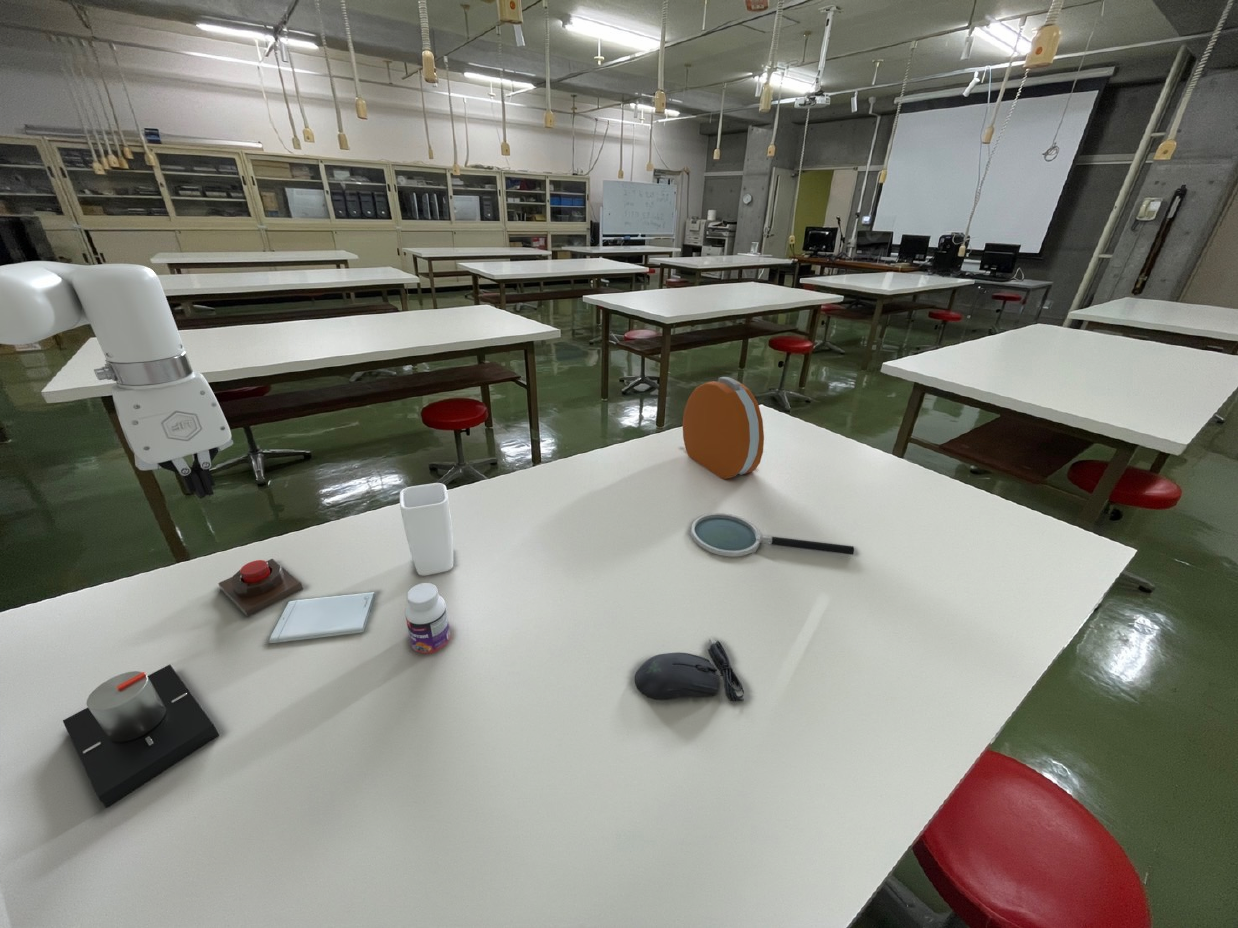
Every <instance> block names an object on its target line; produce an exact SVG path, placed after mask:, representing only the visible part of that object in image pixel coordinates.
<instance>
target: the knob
mask: <svg viewBox="0 0 1238 928" xmlns="http://www.w3.org/2000/svg"><path fill="white" fill-rule="evenodd" d="M86 708H89V710H90V711H91V713H92V714H93V716H94V717H95V719H96V720H97V721H98V723H99V724H100V726H101V727H102V729H103V730H104V732H105V733H106V734H107V736H108V737H109V739H110V740H111V741H113V742H127V741H131V740H134V739H136V738H139V737H141V736H143V735H144V734H146V733H148V732H149V731H151V730H152V729H153V728H154V727H156V726H157V725H158V724H159V723H160V722H161V720H162V719H163V717H164V715H165V713H166V708H165V706H164V704H163V702H162V701H161V699H160V697H159V695H158V694H157V692H156V690H155V688H154V687H153V685H152V683H151V682H150V680H149V678H148V675H147V674H146V673H145V671H140V670H134V671H127V672H124V673H120V674H117V675H115V676H113V677H111V678H108V679H107V680H105V681H104V682H102V683H101V684H100V685H98V686H97V687H95V689H94V690H93V691H92V692H91V693H90V694H89V695H88V697H87V699H86Z"/></svg>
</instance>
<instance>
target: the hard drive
mask: <svg viewBox="0 0 1238 928" xmlns="http://www.w3.org/2000/svg"><path fill="white" fill-rule="evenodd" d="M375 598H376V592H375V591H373V592H372V591H371V592H363V593H362V592H361V593H353V594H343V595H333V596H324V597H315V598H306V599H297V600H289V601H288V603H287V604H286V606H285V608H284V610H283V612H282V614H281V615H280V618H279V619H278V621H277V623H276V625H275V627H274V629H273V631H272V633H271V635H270V636H269V639H268V643H269V644H275V643H283V642H292V641H293V642H294V641H301V640H308V639H317V638H325V637H326V638H327V637H334V636H343V635H351V634H359V633H364V631H365V629H366V625H367V622H368V619H369V616H370V613H371V610H372V606H373V604H374V601H375Z"/></svg>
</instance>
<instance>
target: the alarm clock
mask: <svg viewBox="0 0 1238 928" xmlns="http://www.w3.org/2000/svg"><path fill="white" fill-rule="evenodd" d="M717 380H718V381H714V380H713V381H707V382H705V383H703V384H700V385H698V386H696V387H695V388H694V390H693V391H692V392H691V394H690V395H689V397H688V398H687V401H686V405H685V407H684V411H683V418H682V439H683V444H684V448H685V451H686V454H687V455H688V457H689V458H690V459H692V460H693V461H694V462H696V463H697V464H699V465H701V466H702V467H703V468H705V469H706V470H708V471H709V472H711V473H713V474H714V475H716V476H717V477H718V478H720V479H722V480H728V479H731V478H734V477H737V476H738V475H740V476H742V475H745V474H749V473H752V472H753V471H756V470H757V468H758V466H759V465H760V464H761V461H762V457H763V453H764V443H765V433H764V420H763V416H762V412H761V409H760V405H759V402H758V401H757V399H756V398H755V396H754V394H753V393H752V391H751V389H750V388H748V387H747V386H746V385H744V384H743V383H741V382H740V381H738V380H736V379H734V378H732V377H729V376H722V377H718V379H717Z"/></svg>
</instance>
